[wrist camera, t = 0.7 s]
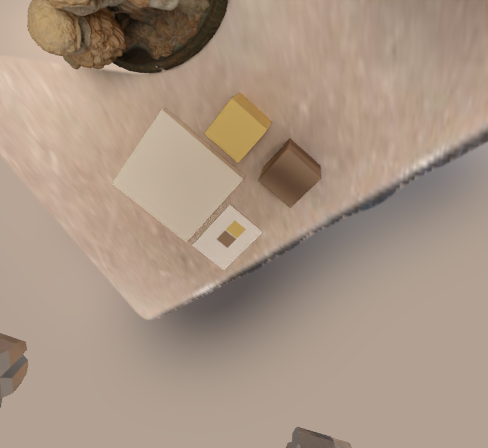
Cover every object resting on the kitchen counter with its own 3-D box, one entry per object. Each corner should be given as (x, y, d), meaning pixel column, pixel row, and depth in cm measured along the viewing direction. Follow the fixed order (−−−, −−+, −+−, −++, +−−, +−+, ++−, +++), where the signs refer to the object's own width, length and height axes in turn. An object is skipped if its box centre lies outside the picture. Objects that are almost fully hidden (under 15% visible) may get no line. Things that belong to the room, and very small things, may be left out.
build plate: (165, 107, 44) (161, 109, 43) (245, 176, 47) (243, 179, 46) (115, 180, 50) (111, 183, 49) (188, 238, 52) (186, 242, 51)
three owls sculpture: (131, 101, 45) (37, 129, 30) (70, 9, 42) (-71, -13, 27) (253, 12, 38) (211, -10, 23) (192, -106, 35) (96, -223, 20)
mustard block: (240, 92, 42) (231, 98, 38) (271, 121, 43) (267, 130, 39) (215, 124, 44) (204, 133, 40) (245, 151, 45) (238, 163, 41)
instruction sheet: (229, 204, 49) (229, 204, 49) (262, 232, 50) (262, 232, 50) (192, 245, 53) (191, 245, 53) (223, 270, 54) (223, 270, 54)
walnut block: (290, 138, 44) (287, 148, 39) (320, 165, 44) (321, 178, 40) (263, 167, 46) (258, 180, 41) (292, 192, 47) (290, 208, 42)
